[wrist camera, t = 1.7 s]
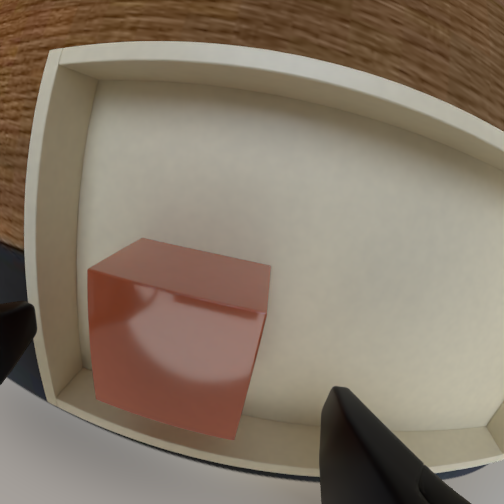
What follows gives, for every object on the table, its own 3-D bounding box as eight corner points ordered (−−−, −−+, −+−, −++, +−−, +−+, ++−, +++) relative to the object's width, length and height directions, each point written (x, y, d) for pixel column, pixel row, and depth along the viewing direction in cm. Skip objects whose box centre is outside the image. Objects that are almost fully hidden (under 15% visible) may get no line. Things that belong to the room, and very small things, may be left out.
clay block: (135, 346, 12) (95, 399, 8) (141, 237, 10) (86, 268, 7) (246, 374, 11) (234, 441, 8) (271, 265, 10) (268, 313, 7)
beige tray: (78, 366, 13) (46, 402, 10) (96, 69, 9) (49, 49, 6) (483, 427, 12) (503, 460, 9) (577, 206, 9) (617, 218, 6)
